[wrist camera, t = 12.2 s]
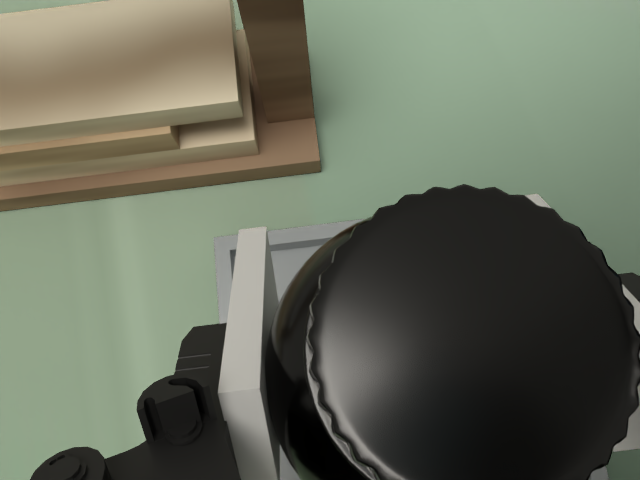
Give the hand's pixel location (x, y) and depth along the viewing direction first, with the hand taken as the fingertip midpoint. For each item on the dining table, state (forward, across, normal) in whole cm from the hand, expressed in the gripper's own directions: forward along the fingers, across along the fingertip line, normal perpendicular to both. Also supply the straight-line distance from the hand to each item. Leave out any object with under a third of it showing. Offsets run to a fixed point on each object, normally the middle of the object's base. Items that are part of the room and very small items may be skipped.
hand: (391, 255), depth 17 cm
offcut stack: (+12, -15, +2) cm, 19 cm away
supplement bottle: (0, 0, -6) cm, 6 cm away
